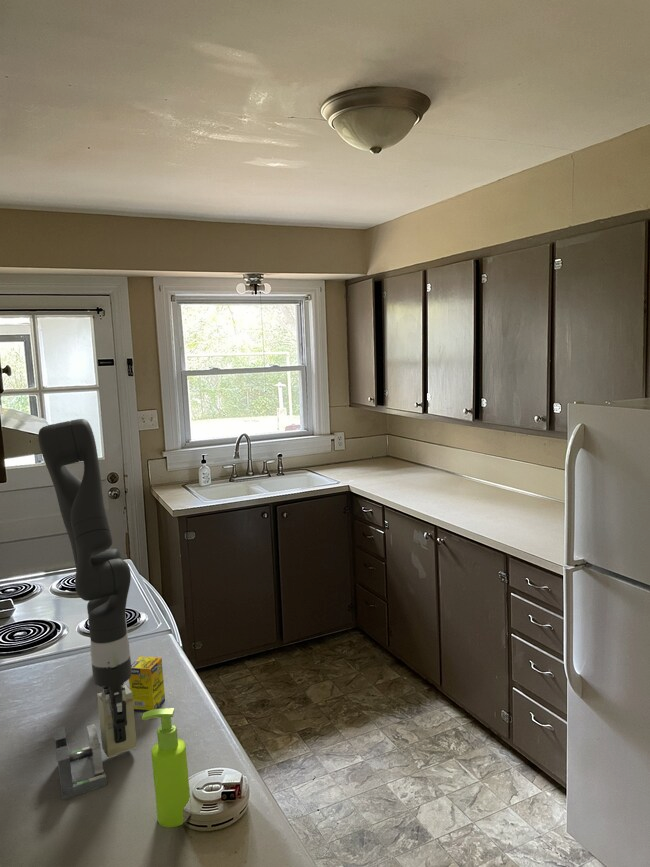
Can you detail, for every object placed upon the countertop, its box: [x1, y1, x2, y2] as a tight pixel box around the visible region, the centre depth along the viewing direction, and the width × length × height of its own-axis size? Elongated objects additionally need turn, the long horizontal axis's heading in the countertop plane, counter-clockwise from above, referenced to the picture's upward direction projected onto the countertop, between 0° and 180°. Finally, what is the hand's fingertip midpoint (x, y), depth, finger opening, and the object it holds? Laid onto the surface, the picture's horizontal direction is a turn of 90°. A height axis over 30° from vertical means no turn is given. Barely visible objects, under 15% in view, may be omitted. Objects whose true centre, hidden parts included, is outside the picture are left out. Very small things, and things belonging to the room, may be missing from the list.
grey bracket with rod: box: [53, 726, 108, 800], centre depth 127 cm, size 12×8×8 cm, turn 27°
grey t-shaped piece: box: [69, 723, 104, 777], centre depth 127 cm, size 10×8×6 cm
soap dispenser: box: [141, 707, 191, 829], centre depth 113 cm, size 6×7×20 cm
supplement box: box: [128, 656, 166, 713], centre depth 151 cm, size 6×6×11 cm
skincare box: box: [96, 684, 138, 758], centre depth 132 cm, size 6×4×12 cm
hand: (118, 734), depth 133 cm, fingers closed on skincare box, 4 cm apart
